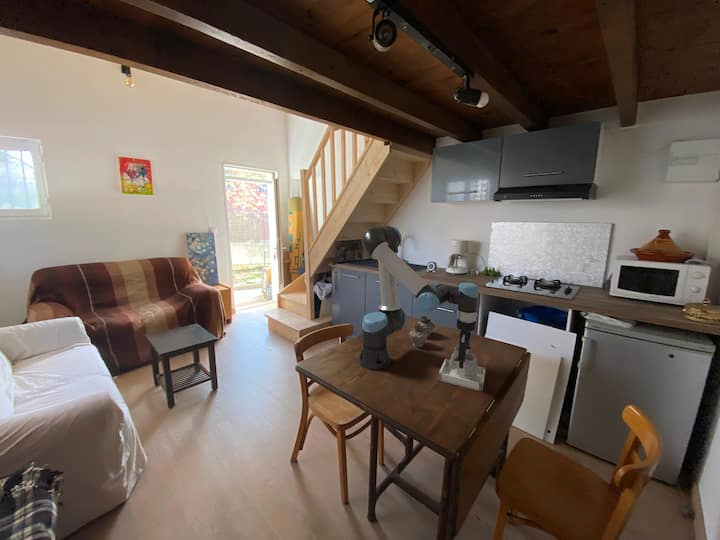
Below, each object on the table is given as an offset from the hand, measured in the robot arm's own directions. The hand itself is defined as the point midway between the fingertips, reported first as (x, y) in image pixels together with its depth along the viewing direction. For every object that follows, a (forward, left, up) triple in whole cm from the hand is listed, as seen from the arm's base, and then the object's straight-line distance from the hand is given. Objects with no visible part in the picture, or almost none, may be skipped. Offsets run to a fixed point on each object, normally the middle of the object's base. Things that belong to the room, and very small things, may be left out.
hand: (462, 368), depth 127 cm
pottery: (-26, +30, -5) cm, 40 cm away
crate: (0, 0, -5) cm, 5 cm away
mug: (0, 0, -4) cm, 4 cm away
